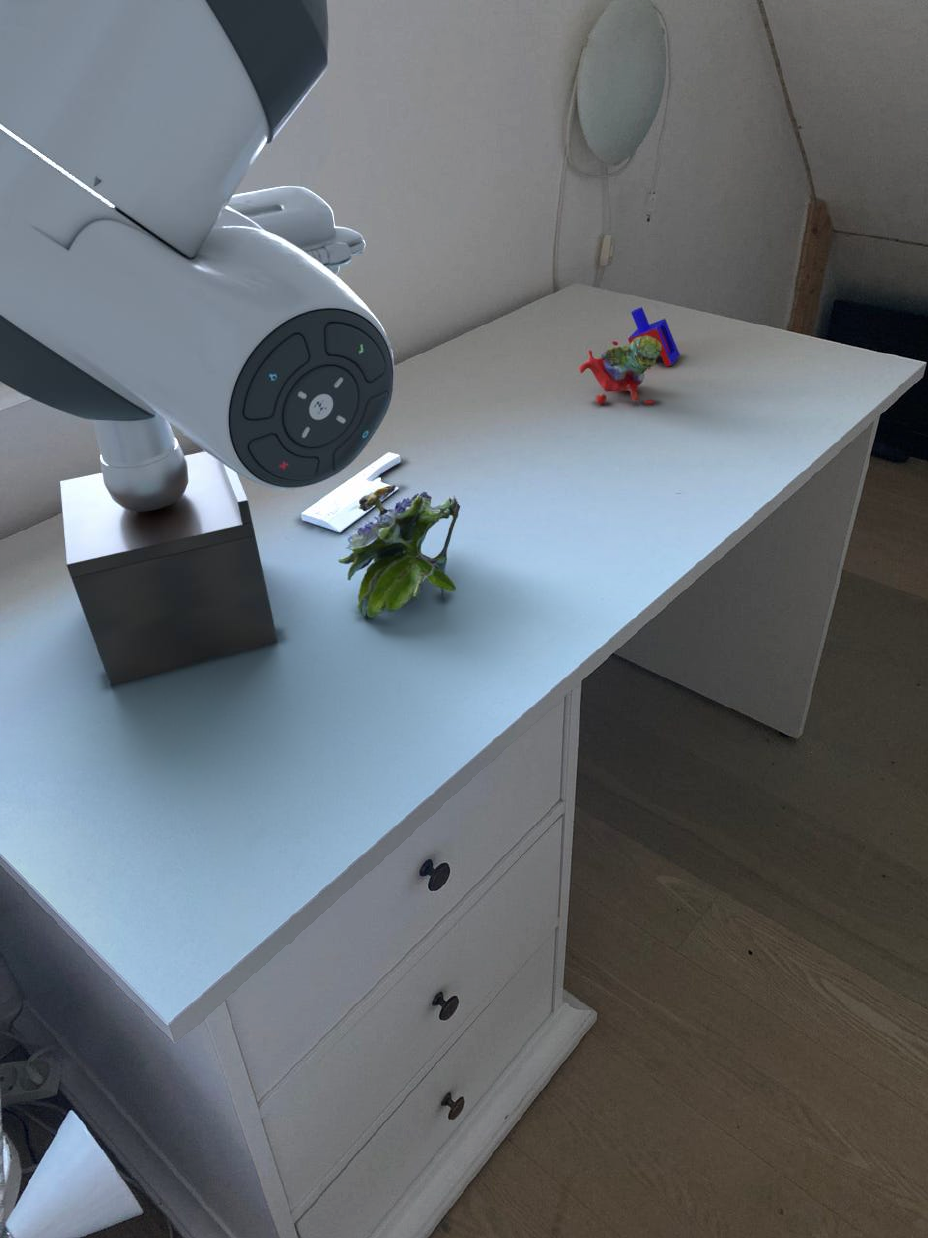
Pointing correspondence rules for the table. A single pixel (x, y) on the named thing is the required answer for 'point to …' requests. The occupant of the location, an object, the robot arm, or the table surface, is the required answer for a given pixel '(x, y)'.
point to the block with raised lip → (167, 573)
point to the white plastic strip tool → (349, 497)
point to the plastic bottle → (141, 463)
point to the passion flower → (398, 551)
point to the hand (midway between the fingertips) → (110, 228)
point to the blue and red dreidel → (656, 335)
